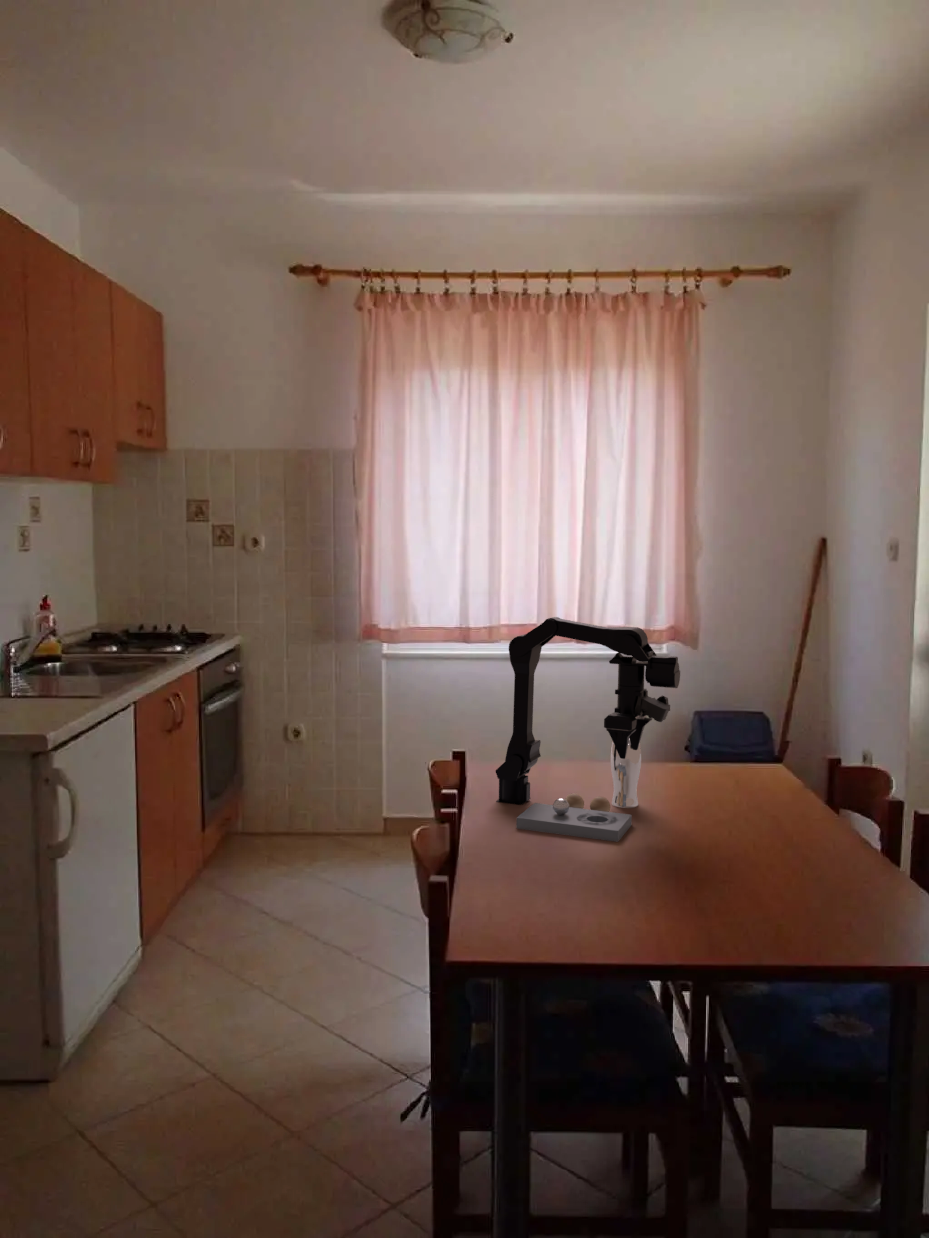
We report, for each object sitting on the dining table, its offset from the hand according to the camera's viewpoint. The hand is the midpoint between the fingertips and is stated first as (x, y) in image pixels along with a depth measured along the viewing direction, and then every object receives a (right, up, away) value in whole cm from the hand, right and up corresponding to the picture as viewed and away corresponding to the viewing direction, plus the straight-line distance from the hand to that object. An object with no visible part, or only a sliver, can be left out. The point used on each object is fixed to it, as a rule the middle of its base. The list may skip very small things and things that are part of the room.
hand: (629, 754), depth 208 cm
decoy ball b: (-6, -12, 0) cm, 13 cm away
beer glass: (+1, -13, +9) cm, 16 cm away
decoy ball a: (-12, -12, +3) cm, 17 cm away
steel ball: (-16, -10, -7) cm, 20 cm away
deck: (-13, -15, -7) cm, 21 cm away
